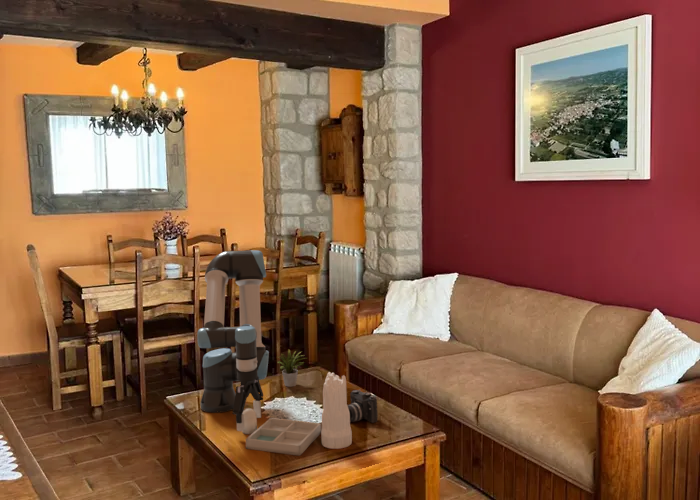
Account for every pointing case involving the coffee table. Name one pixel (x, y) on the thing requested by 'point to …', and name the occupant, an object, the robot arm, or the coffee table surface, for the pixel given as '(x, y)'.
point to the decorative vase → (335, 414)
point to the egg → (250, 421)
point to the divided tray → (284, 436)
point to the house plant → (290, 368)
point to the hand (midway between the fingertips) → (249, 424)
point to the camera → (362, 406)
